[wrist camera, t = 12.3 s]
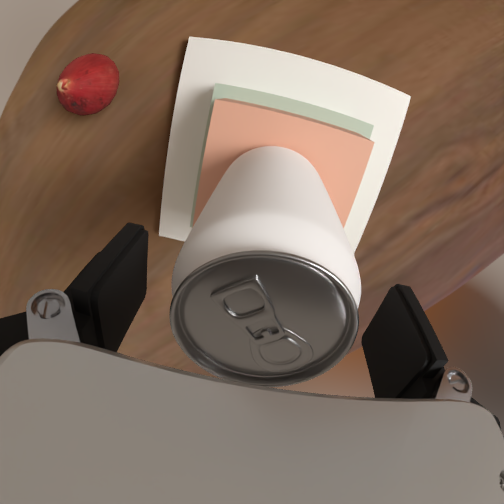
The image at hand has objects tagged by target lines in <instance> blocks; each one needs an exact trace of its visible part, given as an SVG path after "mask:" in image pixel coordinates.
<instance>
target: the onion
mask: <svg viewBox="0 0 504 504" xmlns="http://www.w3.org/2000/svg"><path fill="white" fill-rule="evenodd" d="M56 85H57V96H58V99H59V101H60V103H61V104H62V106H63V107H64V108H65V109H66V110H67V111H69V112H72V113H75V114H78V115H89V114H95V113H97V112H99V111H101V110H102V109H104V108H105V107H106V106H108V105H109V104H110V103H111V101H112V99H113V98H114V96H115V95H116V92H117V89H118V85H119V71H118V69H117V67H116V65H115V63H114V62H113V61H112V60H111V59H110V58H109V57H107V56H105V55H101V54H94V53H92V54H87V55H84V56H81V57H78V58H76V59H75V60H73V61H72V62H71V63H70V64H68V65H67V66H66V67H65V69H64V70H63V72H62V73H61V75H60V76H59V79H58V83H57V84H56Z"/></svg>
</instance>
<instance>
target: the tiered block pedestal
mask: <svg viewBox="0 0 504 504" xmlns="http://www.w3.org/2000/svg"><path fill="white" fill-rule="evenodd" d="M410 98H411V96H409V95H407V94H405V93H403V92H400V91H398V90H396V89H394V88H391V87H389V86H387V85H384V84H382V83H380V82H377V81H375V80H372V79H370V78H367V77H364V76H362V75H359V74H356V73H354V72H351V71H348V70H345V69H342V68H339V67H336V66H333V65H330V64H327V63H323V62H320V61H317V60H313V59H310V58H306V57H303V56H299V55H295V54H291V53H287V52H283V51H278V50H274V49H269V48H265V47H260V46H254V45H249V44H243V43H237V42H231V41H224V40H216V39H208V38H198V37H189V40H188V45H187V49H186V53H185V58H184V62H183V67H182V71H181V76H180V81H179V86H178V91H177V97H176V102H175V108H174V113H173V119H172V125H171V132H170V138H169V145H168V152H167V160H166V168H165V176H164V185H163V194H162V204H161V215H160V227H159V236H164V237H168V238H172V239H176V240H180V241H186V239H187V237H188V235H189V233H190V232H191V230H192V228H193V226H194V224H195V223H196V221H197V219H198V217H199V216H200V214H201V212H202V210H203V209H204V207H205V205H206V203H207V202H208V200H209V198H210V197H211V195H212V193H213V192H214V190H215V188H216V187H217V185H218V183H219V182H220V180H221V178H222V177H223V175H224V174H225V172H226V171H227V169H228V168H229V166H230V165H231V164H232V163H233V162H234V161H235V160H236V159H237V158H238V157H240V156H241V155H242V154H244V153H246V152H248V151H250V150H252V149H255V148H259V147H264V146H279V147H284V148H288V149H291V150H293V151H295V152H297V153H299V154H300V155H302V156H303V157H305V158H306V159H307V160H308V161H309V162H310V163H311V164H312V165H313V166H314V168H315V169H316V171H317V172H318V174H319V176H320V178H321V180H322V182H323V184H324V186H325V188H326V190H327V192H328V195H329V197H330V199H331V201H332V203H333V206H334V208H335V210H336V212H337V215H338V217H339V219H340V222H341V224H342V226H343V229H344V231H345V234H346V236H347V238H348V241H349V244H350V246H351V249H352V251H353V254H354V252H355V250H356V248H357V245H358V243H359V241H360V238H361V236H362V234H363V231H364V229H365V227H366V224H367V222H368V219H369V217H370V214H371V212H372V209H373V207H374V204H375V202H376V199H377V197H378V194H379V191H380V189H381V186H382V183H383V181H384V178H385V175H386V172H387V170H388V167H389V164H390V161H391V158H392V155H393V152H394V149H395V147H396V144H397V140H398V137H399V134H400V131H401V128H402V125H403V122H404V118H405V115H406V112H407V108H408V105H409V101H410Z"/></svg>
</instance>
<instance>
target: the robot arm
mask: <svg viewBox="0 0 504 504" xmlns="http://www.w3.org/2000/svg"><path fill="white" fill-rule="evenodd" d="M147 252H148V231H146V230H144V226H142V225H138V224H134V223H127V224H126V225H125V226H124V227H123V229H122V230H121V231H120V232H119V233H118V234H117V235H116V236H115V237H114V238H113V239H112V240H111V241H110V242H109V243H108V244H107V246H106V247H105V248H104V249H103V250H102V251H101V252H99V253H97V254H96V255H95V256H94V257H93V259H92V260H91V261H90V262H89V263H88V264H87V265H86V266H85V268H84V269H83V270H82V271H81V272H80V273H79V275H78V276H77V277H76V278H75V279H74V280H73V282H72V283H71V284H70V285H69V286H68V288H67V289H66V290H65V291H64V292H62V291H59V290H55V289H46V290H43V291H39V292H38V293H36V294H34V295H33V296H32V297H31V298H30V299H29V301H28V303H27V308H26V312H23V313H19V314H16V315H12V316H8V317H4V318H0V504H504V436H503V435H502V433H501V427H500V422H499V420H498V418H497V417H496V416H495V415H493V414H492V413H491V412H489V411H488V410H487V409H486V408H484V407H483V406H482V405H480V404H479V403H478V402H477V401H476V400H474V399H473V398H472V397H471V394H472V384H471V381H470V379H469V377H468V376H467V375H466V374H465V373H464V372H463V371H462V370H460V369H458V368H456V367H448V368H447V369H446V370H445V369H444V365H445V364H446V363H447V362H448V359H447V357H446V354H445V352H444V350H443V349H442V346H441V344H440V342H439V340H438V338H437V336H436V334H435V332H434V330H433V328H432V326H431V324H430V322H429V320H428V318H427V316H426V314H425V312H424V311H423V309H422V307H421V305H420V303H419V301H418V300H417V298H416V296H415V294H414V292H413V291H412V289H411V288H410V287H409V286H405V285H400V284H396V285H395V286H394V287H391V288H390V290H389V291H388V293H387V295H386V297H385V298H384V300H383V302H382V304H381V306H380V307H379V309H378V311H377V312H376V314H375V316H374V317H373V319H372V321H371V322H370V324H369V326H368V327H367V329H366V331H365V332H364V334H363V336H362V346H363V350H364V354H365V358H366V361H367V365H368V369H369V373H370V377H371V382H372V386H373V390H374V394H375V398H368V397H350V396H338V395H326V394H315V393H307V392H298V391H290V390H283V389H275V388H269V387H263V386H257V385H251V384H245V383H240V382H234V381H229V380H224V379H219V378H214V377H209V376H205V375H200V374H196V373H191V372H187V371H183V370H179V369H175V368H171V367H167V366H164V365H160V364H156V363H152V362H148V361H145V360H141V359H137V358H134V357H130V356H127V355H124V354H120V353H117V350H118V348H119V346H120V344H121V342H122V340H123V338H124V336H125V334H126V332H127V330H128V329H129V327H130V325H131V323H132V321H133V319H134V317H135V315H136V313H137V311H138V309H139V308H140V306H141V304H142V302H143V300H144V298H145V295H146V289H147Z"/></svg>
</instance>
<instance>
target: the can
mask: <svg viewBox="0 0 504 504" xmlns="http://www.w3.org/2000/svg"><path fill="white" fill-rule="evenodd" d="M172 296H173V299H172V302H171V306H170V324H171V329H172V332H173V335H174V337H175V339H176V341H177V343H178V345H179V346H180V348H181V349H182V350H183V352H184V353H185V354H186V355H187V356H188V357H189V358H190V359H191V360H192V361H193V362H194V363H196V364H197V365H198V366H200V367H201V368H203V369H204V370H206V371H207V372H209V373H211V374H213V375H215V376H217V377H219V378H222V379H224V380H229V381H234V382H240V383H245V384H251V385H257V386H263V387H280V386H288V385H293V384H298V383H301V382H305V381H308V380H310V379H313V378H315V377H317V376H319V375H321V374H323V373H325V372H326V371H328V370H330V369H331V368H333V367H334V366H335V365H336V364H337V363H339V362H340V361H341V360H342V359H343V358H344V357H345V355H346V354H347V353H348V351H349V350H350V348H351V347H352V345H353V343H354V341H355V338H356V336H357V332H358V326H359V315H358V306H359V302H360V296H361V281H360V275H359V270H358V266H357V263H356V260H355V257H354V254H353V251H352V249H351V246H350V244H349V241H348V238H347V236H346V234H345V231H344V229H343V226H342V224H341V222H340V219H339V217H338V215H337V212H336V210H335V208H334V206H333V203H332V201H331V199H330V197H329V195H328V192H327V190H326V188H325V186H324V184H323V182H322V180H321V178H320V176H319V174H318V172H317V171H316V169H315V168H314V166H313V165H312V164H311V163H310V162H309V161H308V160H307V159H306V158H305V157H303V156H302V155H300V154H299V153H297V152H295V151H293V150H291V149H288V148H284V147H279V146H264V147H259V148H255V149H252V150H250V151H248V152H246V153H244V154H242V155H241V156H240V157H238V158H237V159H236V160H235V161H234V162H233V163H232V164H231V165H230V166H229V168H228V169H227V171H226V172H225V174H224V175H223V177H222V178H221V180H220V182H219V183H218V185H217V187H216V188H215V190H214V192H213V193H212V195H211V197H210V198H209V200H208V202H207V203H206V205H205V207H204V209H203V210H202V212H201V214H200V216H199V217H198V219H197V221H196V223H195V224H194V226H193V228H192V230H191V232H190V233H189V235H188V237H187V239H186V241H185V243H184V245H183V247H182V249H181V251H180V253H179V255H178V258H177V260H176V263H175V266H174V270H173V275H172Z"/></svg>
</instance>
